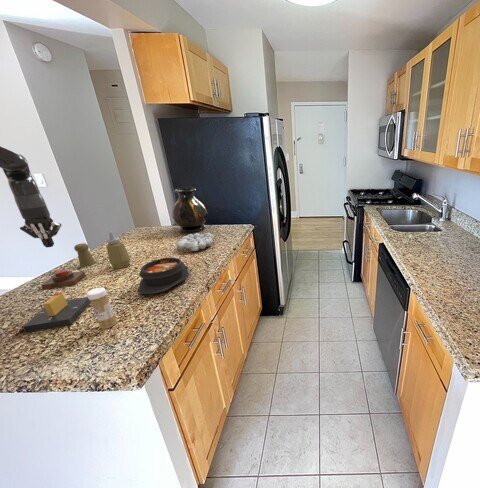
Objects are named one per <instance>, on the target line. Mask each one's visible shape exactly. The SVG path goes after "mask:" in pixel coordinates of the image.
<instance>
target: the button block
mask: <svg viewBox="0 0 480 488" xmlns="http://www.w3.org/2000/svg"><path fill="white" fill-rule="evenodd" d="M67 272H68V274H66V275H64V276H59V277H57V276H56V274H55V273H54V274H52V276H51V277H50V278H48V279H47V280H45V281H44V282H43V283H42V284H40V286H41V288H42V290H48V289H55V288H56V289H57V288H64V287H71V286H76V285H78V283H80V282H81V281H82V279H83V278H84V277H86V272H85V271H76V272H73V270H67Z"/></svg>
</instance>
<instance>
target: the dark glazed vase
mask: <svg viewBox="0 0 480 488" xmlns="http://www.w3.org/2000/svg"><path fill="white" fill-rule="evenodd" d="M196 191H197V189H196V188H195V187H180V188H175V189H174V191H173V192H174V193H176V194H177V195H178V198H177V201H175V203H174V205H173V207H172V210H171V218H172V221H173V222H174V224H175V225H177V226H178V227H179V231H180V232H181V233H184V234H194V233H199V232H201V231H204V230H205V229H206V228H207V226H206V224H205V223H206V222H207V220H208V217H209V214H208V211H207V208H206V206H205V205H204V203H202V201H200V200H199V199H198V198H197V197H195V194H194V193H195V192H196Z"/></svg>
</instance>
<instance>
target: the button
mask: <svg viewBox="0 0 480 488" xmlns="http://www.w3.org/2000/svg"><path fill="white" fill-rule="evenodd" d="M67 271H68V270H67V269H59V270H57V271H55V272H54V274H56V276H57V277H59V276H64V275H66V274H68V272H67Z"/></svg>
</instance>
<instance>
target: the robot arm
mask: <svg viewBox="0 0 480 488" xmlns="http://www.w3.org/2000/svg"><path fill="white" fill-rule="evenodd" d="M28 163H29V162H28V160H27V159H26V157H25V156H23V155H22V154H21V153H19V152H16V151H14V150H11V149H9V148H7V147H4V146H2V145H0V169H2V171H3V173H4V175H5V177H6V179H7V184H8V186H9V189H10V191H11V193H12V196H13V199H14V202H15V204H16V206H17V209H18V211H19V213H20V215H21V217H22V219H23V220H24V225H23V226H20V227H19V229H20V230H21V231H23V232H24V233H26V234H27V235H29V236H30V237H32V238H33V239H39V240H40V241H41V243H42V245H43V246H44V247H45V248H52V247H54V245H55V242H54V240H53V237H55V236H57V234H59V231H60V229H61V227H62V223H60V222H59V223H58V222H55V221H54V219H52V218H51V214H50V213H51V212H50V211H49V209H48V208H49V207H48V206H47V204H46V201H45V199H44V197H43V195H42V194H41V192H40V189H39V187H38V185H37V183H36V181H35V179H34V177H33V175H32V172H31V168H30V166H29V164H28Z"/></svg>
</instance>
